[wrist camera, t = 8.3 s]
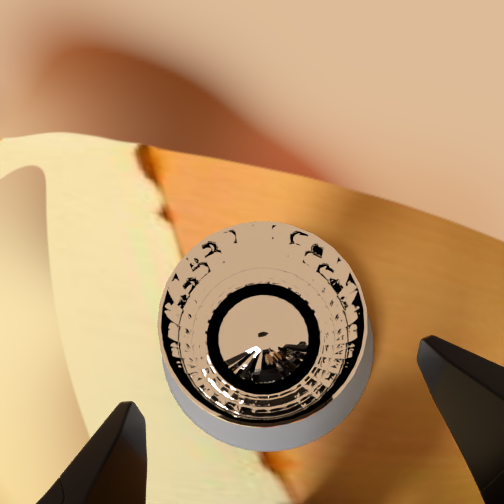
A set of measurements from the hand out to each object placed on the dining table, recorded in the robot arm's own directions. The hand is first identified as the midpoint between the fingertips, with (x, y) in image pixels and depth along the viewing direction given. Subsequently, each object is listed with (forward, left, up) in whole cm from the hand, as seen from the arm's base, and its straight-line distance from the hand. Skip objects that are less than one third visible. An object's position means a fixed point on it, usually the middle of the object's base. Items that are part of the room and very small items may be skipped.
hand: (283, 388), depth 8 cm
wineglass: (+2, +1, -10) cm, 10 cm away
